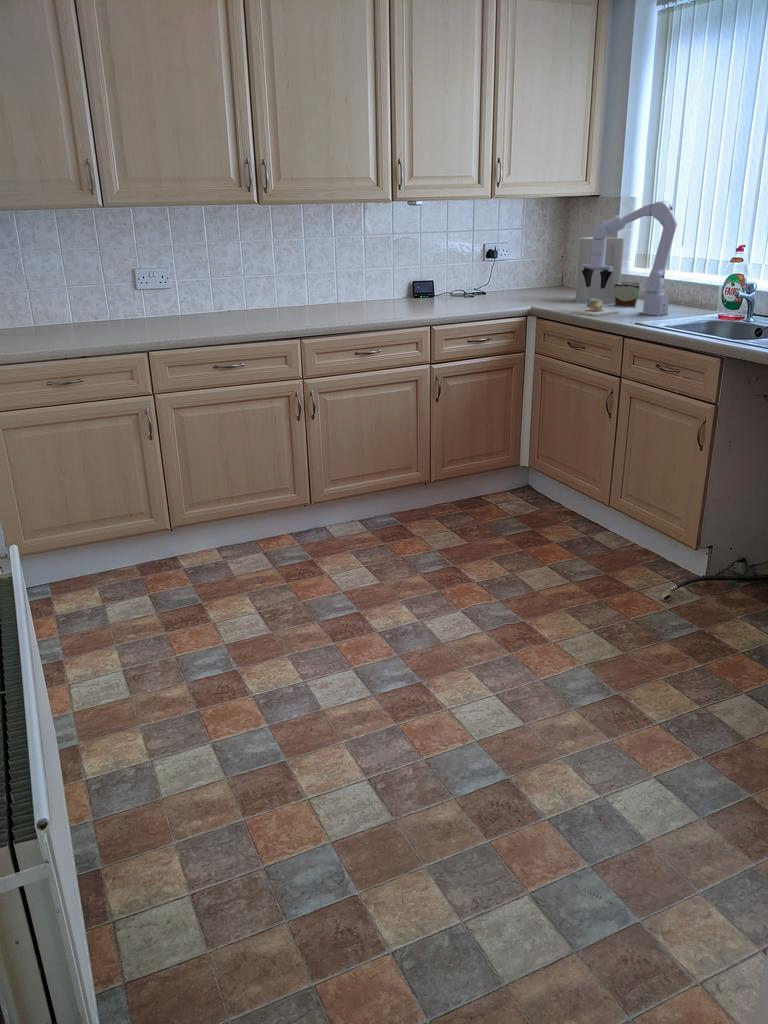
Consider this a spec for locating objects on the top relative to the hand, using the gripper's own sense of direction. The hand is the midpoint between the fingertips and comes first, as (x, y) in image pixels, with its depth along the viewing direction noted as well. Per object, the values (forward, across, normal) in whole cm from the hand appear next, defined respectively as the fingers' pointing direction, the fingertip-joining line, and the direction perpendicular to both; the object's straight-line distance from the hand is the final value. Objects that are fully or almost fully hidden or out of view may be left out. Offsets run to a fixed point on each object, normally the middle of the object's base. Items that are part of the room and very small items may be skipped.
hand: (595, 287), depth 357 cm
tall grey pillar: (+10, +18, -26) cm, 33 cm away
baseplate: (+10, -6, +7) cm, 13 cm away
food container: (+10, -1, -23) cm, 25 cm away
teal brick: (+10, +4, -5) cm, 12 cm away
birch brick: (+8, -6, +6) cm, 12 cm away
